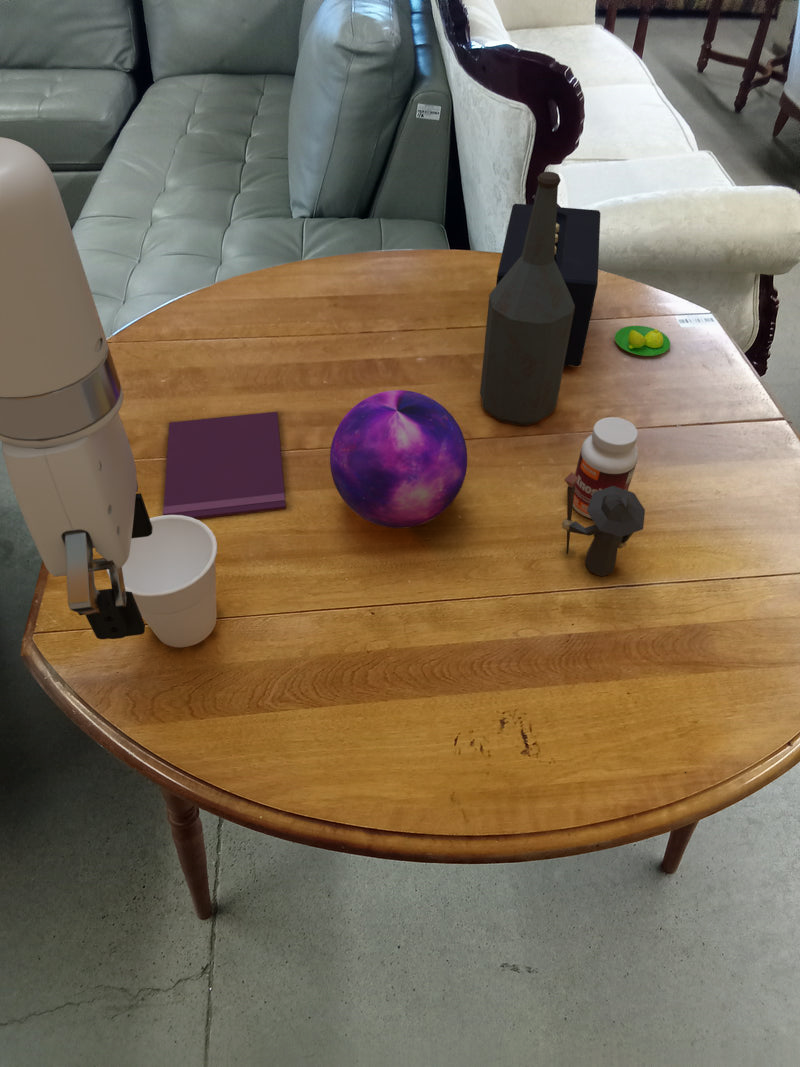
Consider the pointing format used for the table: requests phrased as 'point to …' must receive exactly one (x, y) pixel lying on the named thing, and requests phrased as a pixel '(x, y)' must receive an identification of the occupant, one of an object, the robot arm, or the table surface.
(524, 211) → the speaker
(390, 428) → the decorative orb
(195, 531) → the cup
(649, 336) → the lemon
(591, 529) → the wizard figurine
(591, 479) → the pill bottle
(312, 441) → the table surface
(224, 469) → the book
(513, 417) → the bottle
